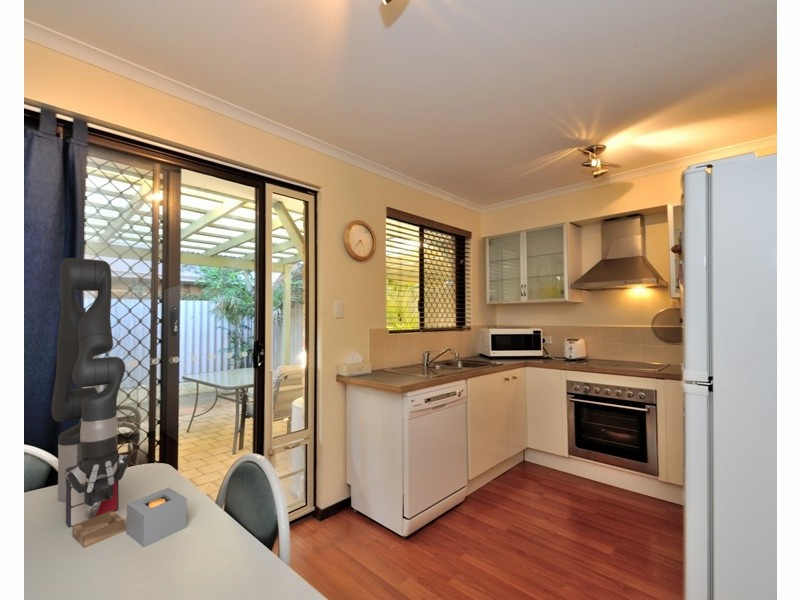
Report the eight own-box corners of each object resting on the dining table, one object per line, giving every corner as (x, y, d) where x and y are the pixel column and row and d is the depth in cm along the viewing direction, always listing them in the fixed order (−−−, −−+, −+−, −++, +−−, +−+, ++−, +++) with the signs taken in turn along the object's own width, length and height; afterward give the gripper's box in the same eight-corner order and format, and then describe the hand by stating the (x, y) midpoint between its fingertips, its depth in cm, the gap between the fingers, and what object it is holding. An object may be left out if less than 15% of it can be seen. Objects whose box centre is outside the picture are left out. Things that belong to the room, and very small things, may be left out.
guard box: (126, 534, 96) (126, 503, 96) (168, 516, 104) (168, 487, 104) (143, 549, 90) (143, 515, 90) (186, 528, 98) (186, 497, 98)
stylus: (82, 511, 99) (92, 482, 95) (96, 506, 101) (106, 477, 97) (85, 521, 97) (95, 491, 93) (99, 515, 100) (110, 486, 96)
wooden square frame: (72, 537, 95) (72, 525, 95) (112, 521, 102) (112, 510, 102) (84, 549, 90) (84, 537, 90) (124, 531, 97) (124, 520, 97)
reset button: (146, 522, 97) (146, 502, 97) (161, 515, 100) (161, 496, 100) (152, 526, 95) (152, 507, 95) (167, 519, 98) (167, 500, 98)
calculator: (68, 529, 98) (69, 472, 98) (65, 523, 101) (65, 468, 101) (119, 511, 107) (119, 458, 107) (114, 506, 109) (115, 454, 109)
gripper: (125, 425, 104) (125, 486, 104) (59, 440, 92) (58, 510, 92) (136, 430, 100) (136, 494, 100) (68, 447, 88) (68, 520, 88)
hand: (99, 501), depth 96 cm, fingers closed on stylus, 3 cm apart
